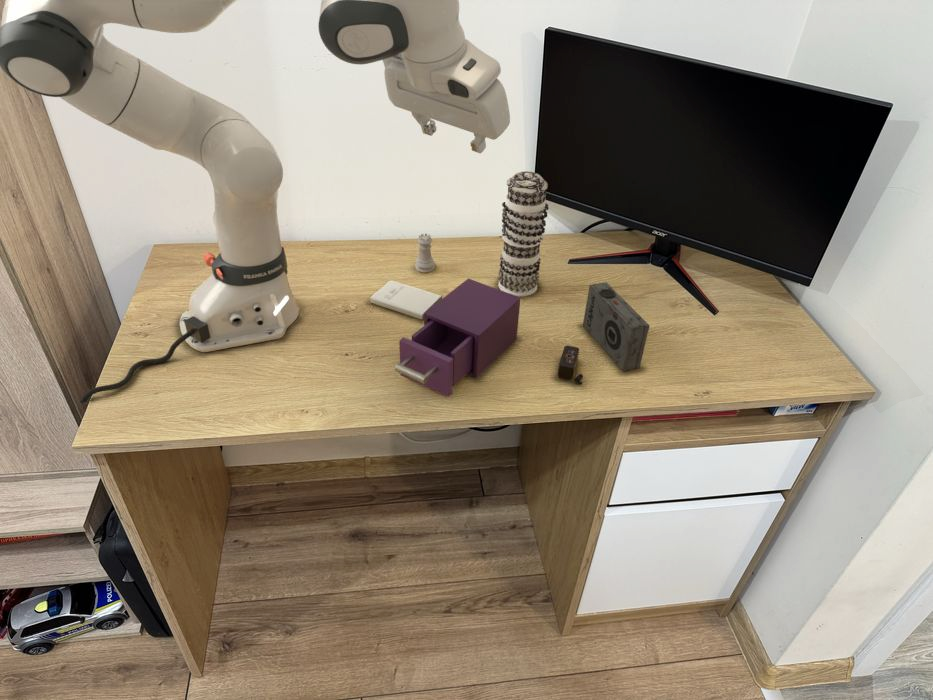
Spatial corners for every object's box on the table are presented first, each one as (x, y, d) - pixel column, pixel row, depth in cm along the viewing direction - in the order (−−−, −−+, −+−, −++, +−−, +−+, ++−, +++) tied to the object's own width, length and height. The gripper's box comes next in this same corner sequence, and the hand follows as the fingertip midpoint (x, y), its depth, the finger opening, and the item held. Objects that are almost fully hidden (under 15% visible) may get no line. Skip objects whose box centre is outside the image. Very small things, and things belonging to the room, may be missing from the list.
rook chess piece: (411, 265, 156) (411, 233, 151) (430, 261, 158) (430, 230, 153) (419, 275, 153) (419, 242, 148) (438, 271, 155) (438, 239, 150)
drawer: (434, 411, 117) (434, 375, 112) (385, 388, 121) (383, 352, 117) (489, 358, 129) (492, 323, 124) (443, 338, 133) (443, 304, 129)
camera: (579, 323, 140) (586, 281, 134) (596, 320, 142) (604, 277, 136) (621, 372, 128) (631, 328, 122) (640, 368, 130) (650, 324, 124)
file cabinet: (476, 378, 126) (478, 335, 120) (423, 355, 130) (423, 313, 125) (516, 339, 136) (520, 297, 130) (466, 319, 140) (468, 278, 135)
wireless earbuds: (555, 381, 126) (557, 367, 124) (562, 358, 131) (564, 344, 129) (581, 387, 125) (583, 373, 123) (587, 363, 130) (589, 349, 128)
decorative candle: (535, 300, 147) (547, 189, 131) (492, 293, 148) (499, 182, 133) (542, 278, 154) (555, 170, 138) (501, 271, 155) (510, 164, 140)
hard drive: (422, 321, 139) (370, 303, 144) (442, 301, 145) (391, 285, 149) (422, 314, 138) (369, 296, 143) (442, 294, 144) (391, 278, 148)
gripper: (366, 57, 99) (390, 134, 111) (483, 94, 91) (497, 173, 102) (392, 32, 102) (413, 110, 113) (510, 65, 93) (520, 146, 105)
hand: (454, 140), depth 108 cm, fingers open, 8 cm apart
